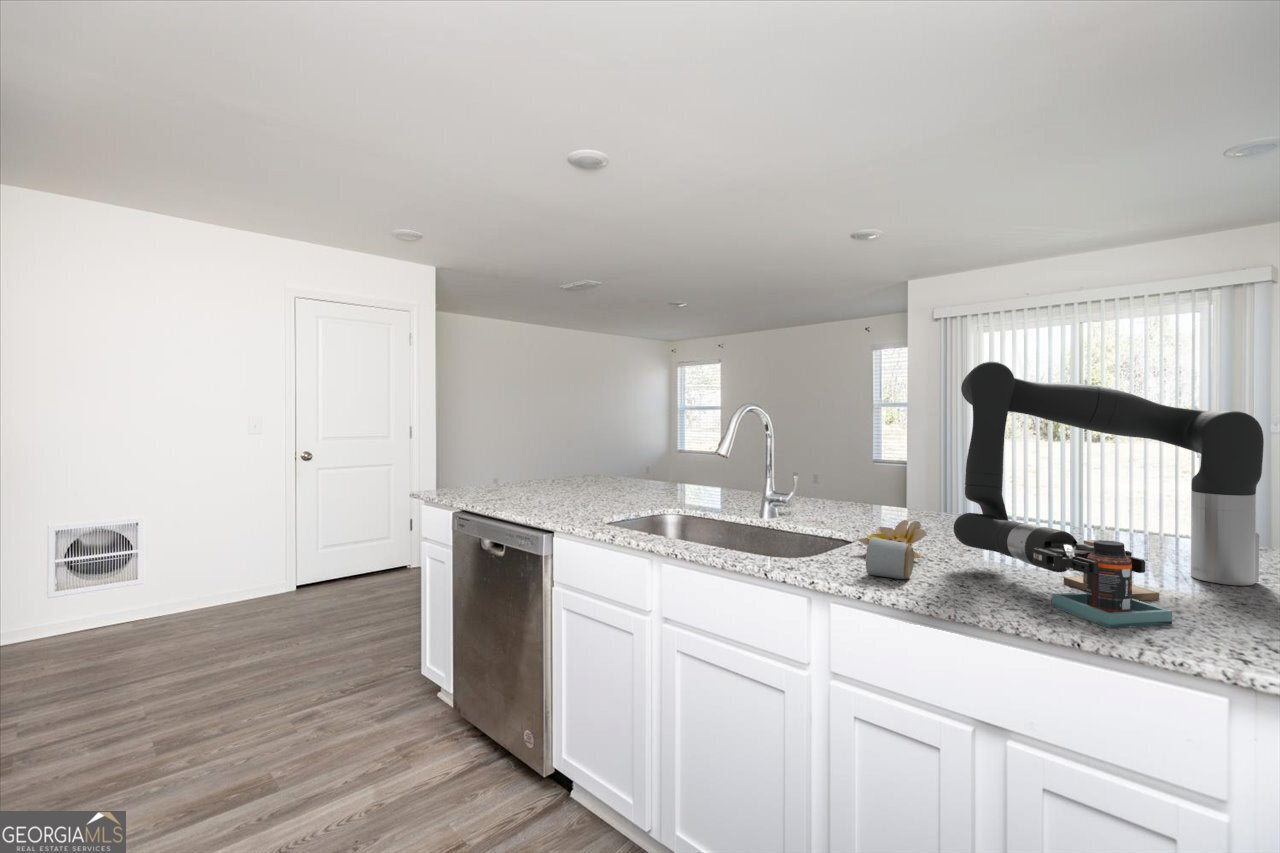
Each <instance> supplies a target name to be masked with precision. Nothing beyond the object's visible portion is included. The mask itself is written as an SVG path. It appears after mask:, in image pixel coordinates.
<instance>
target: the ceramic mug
mask: <svg viewBox="0 0 1280 853" xmlns="http://www.w3.org/2000/svg"><path fill="white" fill-rule="evenodd" d="M914 551H915V550H914V548H913V546H911V545H908V544H905V543H902V542H896V541H891V540H885V539H880V538H875V537H872V538H871V539H870V540H869V543H868V545H867V548H866V552H865V554H866V555H865V571H866V573H867V574H868V575H869V576H877V577H884V578H891V579H896V580H908V579H910V577H911V576H912V573H913V568H914V561H915V558H914Z"/></svg>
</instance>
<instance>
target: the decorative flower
mask: <svg viewBox="0 0 1280 853" xmlns="http://www.w3.org/2000/svg"><path fill="white" fill-rule="evenodd" d="M909 522H910V520H908V519H904V520H901V521H900V522H899V523H898V524H896V526H895V528H892V527H887V526H879V527H877V528H876V529H875V533H870V534H868V535H867V537H864V538H863V537H862V538H855V541H858V542H859V543H862V544H864V545H866V546H868V543H869V540H870V539H871V538H872V537H875V538H880V539H885V540H891V541H896V542H902V543H905V544H908V545H911V546H912V547H913V544H915V543H917V542H918V541H921V540H922V539H924V538H925V537H926V536H927V535H928V534H927V532H926V531H925V530H924V529H922V528H921V522H920V521H917V520H914V521H913V522H910V524H909ZM908 524H909V525H908ZM913 551H914V559H920V558H922V556H921V555H920V554H918V553H917V552H916V551H915V550H913Z"/></svg>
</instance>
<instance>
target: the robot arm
mask: <svg viewBox="0 0 1280 853" xmlns="http://www.w3.org/2000/svg"><path fill="white" fill-rule="evenodd" d="M961 383H962V384H961V386H960V387H961V388H960V390H961V391H960V392H961V394H962V397H963V398H964V399H965V401H966V402H967V403H968V404H970V405H971V406H972V428H971V436H970V440H969V441H970V442H969V446H968V447H969V448H968V452H967V456H966V462H965V464H966V465H965V476H964V477H965V479H964V480H965V481H964V486H965V487H964V496H965V498H966V499H967V500H968V501H970V502H973V503H976V504H977V505H979V507H980V509H981V513H977V512H976V513H975V512H966V513H962V514H960V515H959V516H958V517H957V518H956V519H955V521H954V522H953V529H952V530H953V533H954V536H955V538H956V539H957V540H958V541H959V543H961V544H963V545H965V547H966V546H967V547H969V548H974V549H979V550H984V551H989V552H996V553H999V554H1002V555H1005V556H1007V557H1010V558H1014V559H1016V560H1019V561H1021V562H1022V563H1025V564H1029V565H1031V566H1034V567H1038V568H1041V569H1044V570H1047V571H1049V572H1050V571H1051V572H1054V573H1064V572H1067V571H1069V572H1075V571H1077V572H1080V573H1082V574H1083V573H1086V574H1089V575H1097V574H1098V563H1097V562H1096V561H1092V560H1089V559H1087V556H1088V555H1089V554H1090V553H1092V552H1093V551H1094V550H1095V549H1094V546H1089V545H1087V544H1084V543H1078V541H1077V540H1076V538H1075V537H1074V536H1073V535H1072V534H1070V533H1069V532H1067V531H1064V530H1060V529H1055V528H1051V527H1046V526H1042V525H1037V524H1027V523H1023V522H1018V521H1015V520H1014V521H1013V520H1009V517H1008V514H1007V513H1008V512H1007V508H1006V505H1005V501H1004V497H1003V482H1004V479H1003V477H1004V456H1005V455H1004V454H1005V452H1004V449H1005V436H1006V429H1007V428H1006V427H1007V419H1008V413H1017V414H1024V415H1028V416H1031V417H1032V416H1033V417H1036V418H1039V419H1044V420H1046V421H1050V422H1054V423H1059V424H1063V425H1066V426H1069V427H1074V428H1079V429H1083V430H1086V431H1092V432H1096V433H1097V432H1098V433H1103V434H1107V435H1114V436H1121V437H1129V438H1140V439H1141V438H1142V439H1150V440H1154V441H1159V442H1163V443H1165V444H1169V445H1171V446H1176V447H1179V448H1182V449H1185V450H1189V451H1192V452H1194V453H1197V454H1200V455H1201V456H1200V467H1199V469H1198V472H1197V473H1196V474H1195V475H1194V476H1193V477H1192V478H1191V491H1190V492H1191V493H1190V494H1191V502H1190V503H1191V508H1190V509H1191V510H1190V512H1191V514H1190V515H1191V516H1190V519H1191V520H1190V524H1191V525H1190V576H1191V578H1193V579H1197V580H1200V581H1205V582H1209V583H1213V584H1214V583H1215V584H1221V585H1230V586H1253V585H1255V583H1259V582H1260V580H1259V579H1260V534H1259V533H1258V532H1256V530H1257V529H1256V528H1257V526H1256V521H1257V520H1256V519H1257V516H1256V515H1257V512H1256V511H1257V507H1256V506H1257V505H1256V504H1257V485H1258V483H1259V482H1260V480H1261V478H1262V473H1263V459H1264V443H1265V442H1264V439H1265V438H1264V432H1263V428H1262V426H1261V424H1260V423H1259V421H1258V420H1257V419H1256V418H1255V417H1253V416H1252V415H1250V414H1248V413H1246V412H1243V411H1238V410H1202V409H1201V410H1200V409H1192V408H1191V409H1190V408H1181V407H1175V406H1169V405H1165V404H1160V403H1158V402H1155V401H1152V400H1149V399H1147V398H1144V397H1141V396H1139V395H1135V394H1132V393H1129V392H1126V391H1122V390H1118V389H1115V388H1109V387H1104V386H1097V385H1094V384H1093V385H1092V384H1087V383H1085V384H1084V383H1067V382H1065V383H1063V382H1062V383H1061V382H1060V383H1059V382H1052V383H1051V382H1037V381H1031V380H1027V379H1026V380H1025V379H1022V378H1017V377H1015V376H1014V374H1013V372H1012V370H1011V369H1010V367H1008V366H1007V365H1005V364H1003V363H1002V362H999V361H986V362H982V363H981V364H978V365H977V366H975V367H973V369H972V370H971V371H969V373H968V374H967V375H966V376H965V378H964V379H963V380H962V382H961ZM1124 553H1125V555H1126V556H1127V557H1129V558H1130V559H1131V561H1132V573H1137V574H1144V573H1145V572H1146V560H1144V558H1143V559H1142V558H1139V557H1134V556H1132V555H1133V553H1132V552H1131V551H1129V550H1125V551H1124Z"/></svg>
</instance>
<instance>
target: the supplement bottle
mask: <svg viewBox="0 0 1280 853" xmlns="http://www.w3.org/2000/svg"><path fill="white" fill-rule="evenodd" d="M1096 540H1097V541H1094V549H1095V550H1094V551H1093V552H1092V553H1090V554H1089V555H1088V556H1087V559H1089V560H1092V561H1096V562H1097V563H1098V574H1097V575H1089V574H1087V591H1086V592H1087V605H1089V606H1092V607H1094V608H1097V609H1100V610H1103V611H1106V612H1108V613H1115V612H1131V611H1132V585H1133V571H1132V561H1131V559H1130V558H1129V557H1127V556H1126V555H1125V553H1124V551H1126V550H1125V543H1123V542H1120V541H1114V540H1104V539H1103V540H1102V539H1096Z"/></svg>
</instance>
